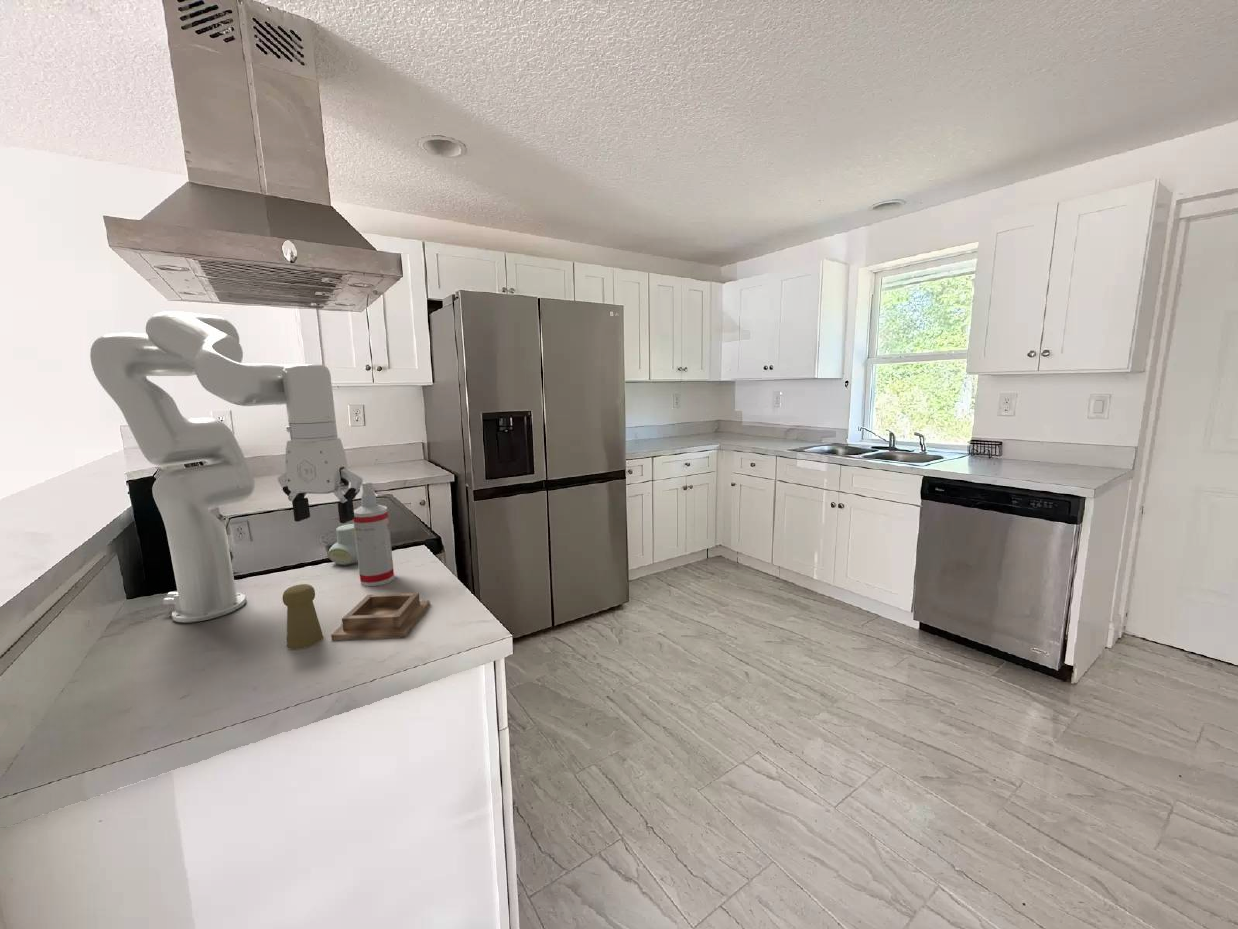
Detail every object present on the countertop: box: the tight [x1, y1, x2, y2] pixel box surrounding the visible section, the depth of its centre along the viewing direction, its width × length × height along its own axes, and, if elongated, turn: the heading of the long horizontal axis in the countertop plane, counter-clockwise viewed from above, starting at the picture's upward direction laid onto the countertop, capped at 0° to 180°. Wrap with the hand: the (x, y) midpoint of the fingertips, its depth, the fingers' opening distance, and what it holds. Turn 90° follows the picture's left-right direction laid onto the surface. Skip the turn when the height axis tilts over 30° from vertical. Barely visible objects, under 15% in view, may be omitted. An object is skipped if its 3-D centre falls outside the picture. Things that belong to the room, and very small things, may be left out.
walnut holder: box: [330, 592, 431, 641], centre depth 102 cm, size 14×14×4 cm
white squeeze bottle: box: [352, 481, 395, 587], centre depth 121 cm, size 8×8×25 cm
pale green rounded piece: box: [327, 523, 358, 566], centre depth 136 cm, size 11×8×10 cm
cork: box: [282, 583, 324, 650], centre depth 94 cm, size 6×6×11 cm
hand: (324, 520), depth 95 cm, fingers open, 9 cm apart
